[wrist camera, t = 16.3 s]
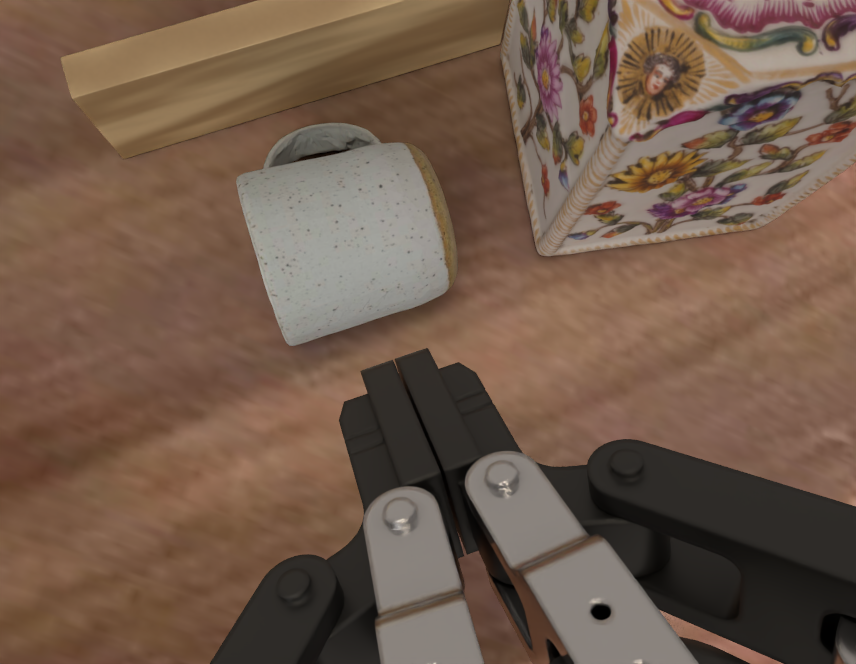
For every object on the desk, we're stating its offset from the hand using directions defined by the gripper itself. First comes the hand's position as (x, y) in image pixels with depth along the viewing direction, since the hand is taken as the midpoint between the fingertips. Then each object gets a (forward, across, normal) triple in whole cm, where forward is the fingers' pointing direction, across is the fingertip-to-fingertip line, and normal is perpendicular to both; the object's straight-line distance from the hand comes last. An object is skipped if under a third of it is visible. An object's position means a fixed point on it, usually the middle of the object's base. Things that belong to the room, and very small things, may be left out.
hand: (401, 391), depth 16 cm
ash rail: (+27, -2, +1) cm, 27 cm away
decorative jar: (+21, -16, +6) cm, 27 cm away
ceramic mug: (+21, -1, +7) cm, 22 cm away
